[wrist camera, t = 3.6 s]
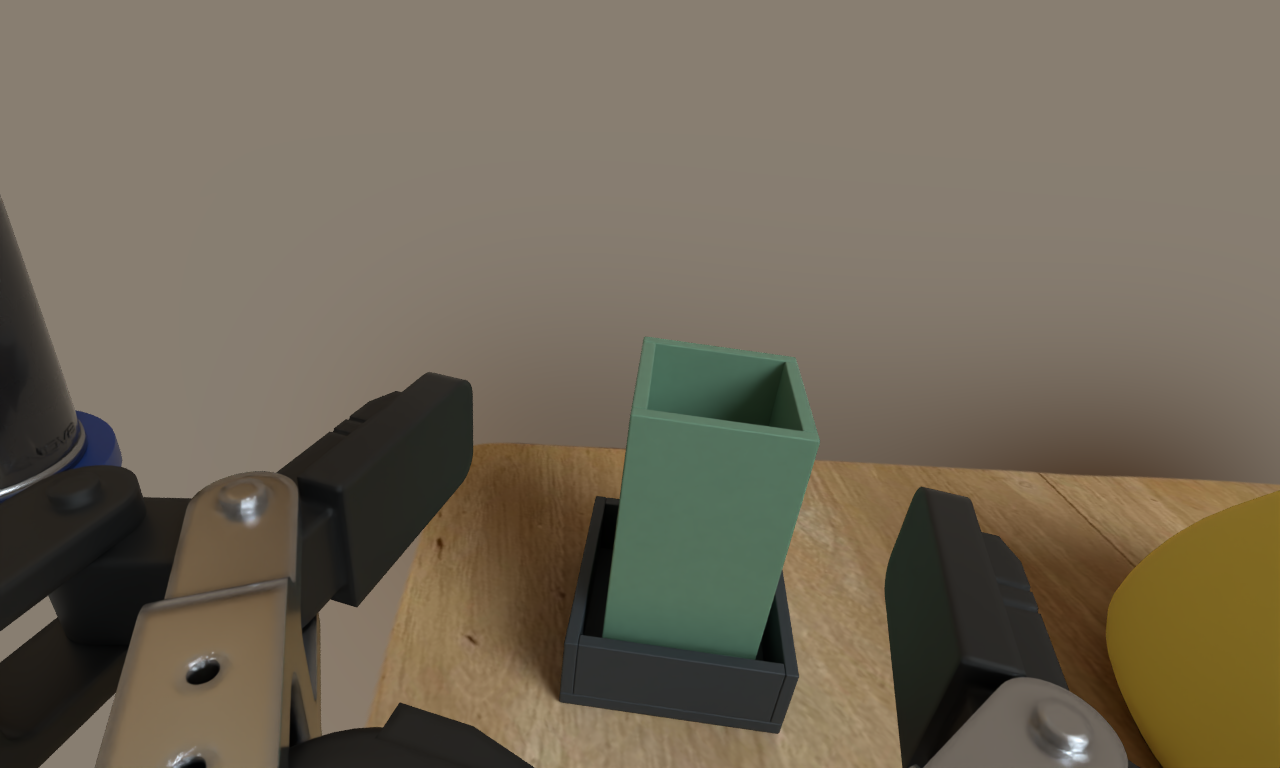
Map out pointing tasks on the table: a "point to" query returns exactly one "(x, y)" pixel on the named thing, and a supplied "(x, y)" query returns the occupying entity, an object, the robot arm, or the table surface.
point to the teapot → (1205, 641)
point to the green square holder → (707, 496)
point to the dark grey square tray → (670, 657)
